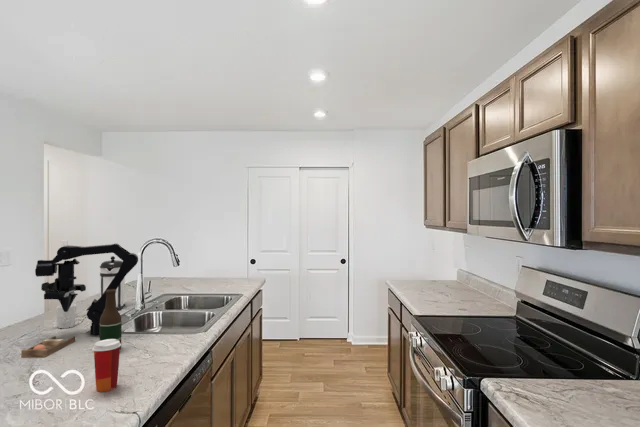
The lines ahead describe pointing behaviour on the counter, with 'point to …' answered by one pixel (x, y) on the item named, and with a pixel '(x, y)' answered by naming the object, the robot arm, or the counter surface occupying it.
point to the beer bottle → (110, 319)
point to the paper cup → (106, 364)
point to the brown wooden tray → (45, 352)
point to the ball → (39, 347)
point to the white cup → (66, 316)
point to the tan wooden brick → (51, 342)
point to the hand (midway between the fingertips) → (65, 311)
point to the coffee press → (106, 277)
